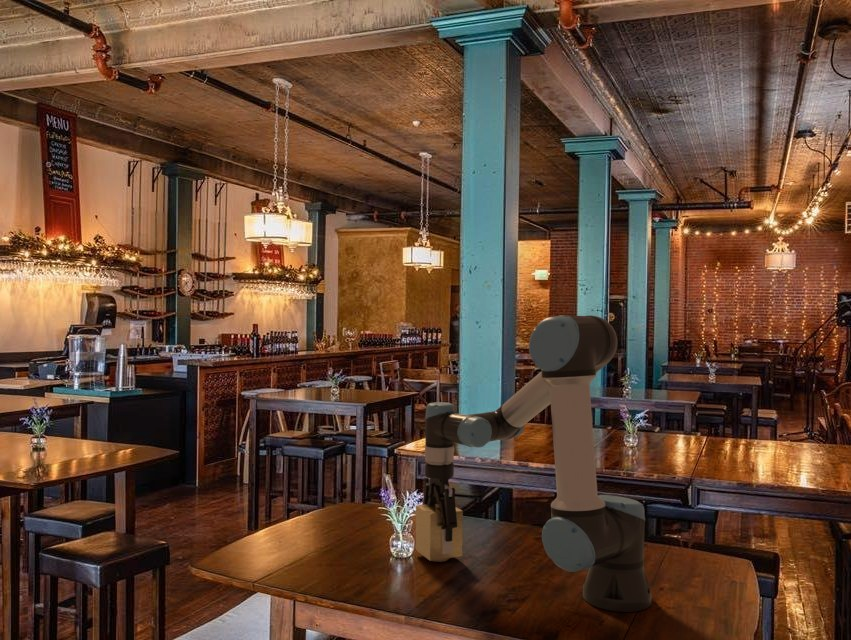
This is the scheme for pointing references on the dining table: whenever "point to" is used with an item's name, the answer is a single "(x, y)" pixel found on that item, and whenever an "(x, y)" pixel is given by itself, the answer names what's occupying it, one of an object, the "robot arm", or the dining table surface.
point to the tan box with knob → (436, 532)
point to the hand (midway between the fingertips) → (438, 547)
